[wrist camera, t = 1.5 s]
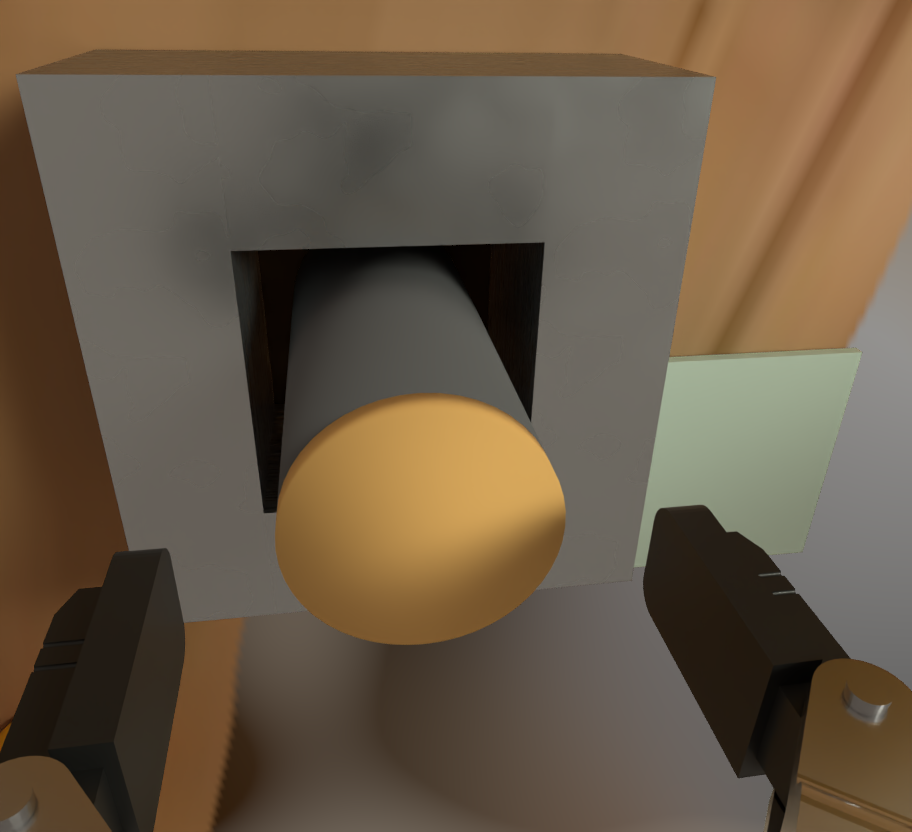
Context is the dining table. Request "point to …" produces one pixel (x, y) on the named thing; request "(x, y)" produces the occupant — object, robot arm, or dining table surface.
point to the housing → (351, 226)
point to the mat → (749, 441)
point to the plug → (406, 454)
